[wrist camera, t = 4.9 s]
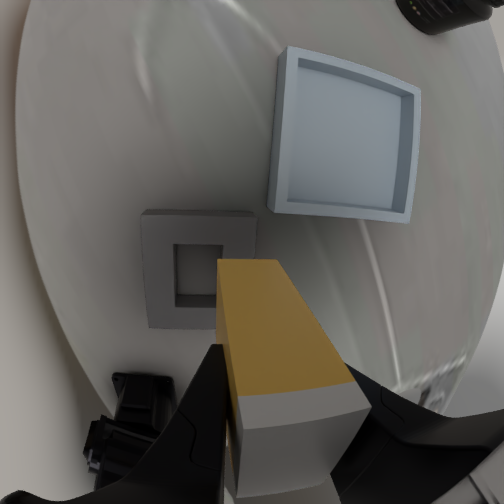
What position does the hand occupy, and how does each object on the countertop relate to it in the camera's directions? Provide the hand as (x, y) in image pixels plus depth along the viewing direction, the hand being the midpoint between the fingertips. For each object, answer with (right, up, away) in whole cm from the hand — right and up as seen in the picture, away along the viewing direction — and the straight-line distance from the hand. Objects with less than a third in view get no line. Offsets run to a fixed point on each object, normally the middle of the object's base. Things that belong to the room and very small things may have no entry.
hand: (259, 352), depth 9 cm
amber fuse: (-1, +1, +3) cm, 4 cm away
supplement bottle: (+17, +29, +7) cm, 35 cm away
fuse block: (-4, +2, +13) cm, 14 cm away
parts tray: (+7, +12, +11) cm, 18 cm away
